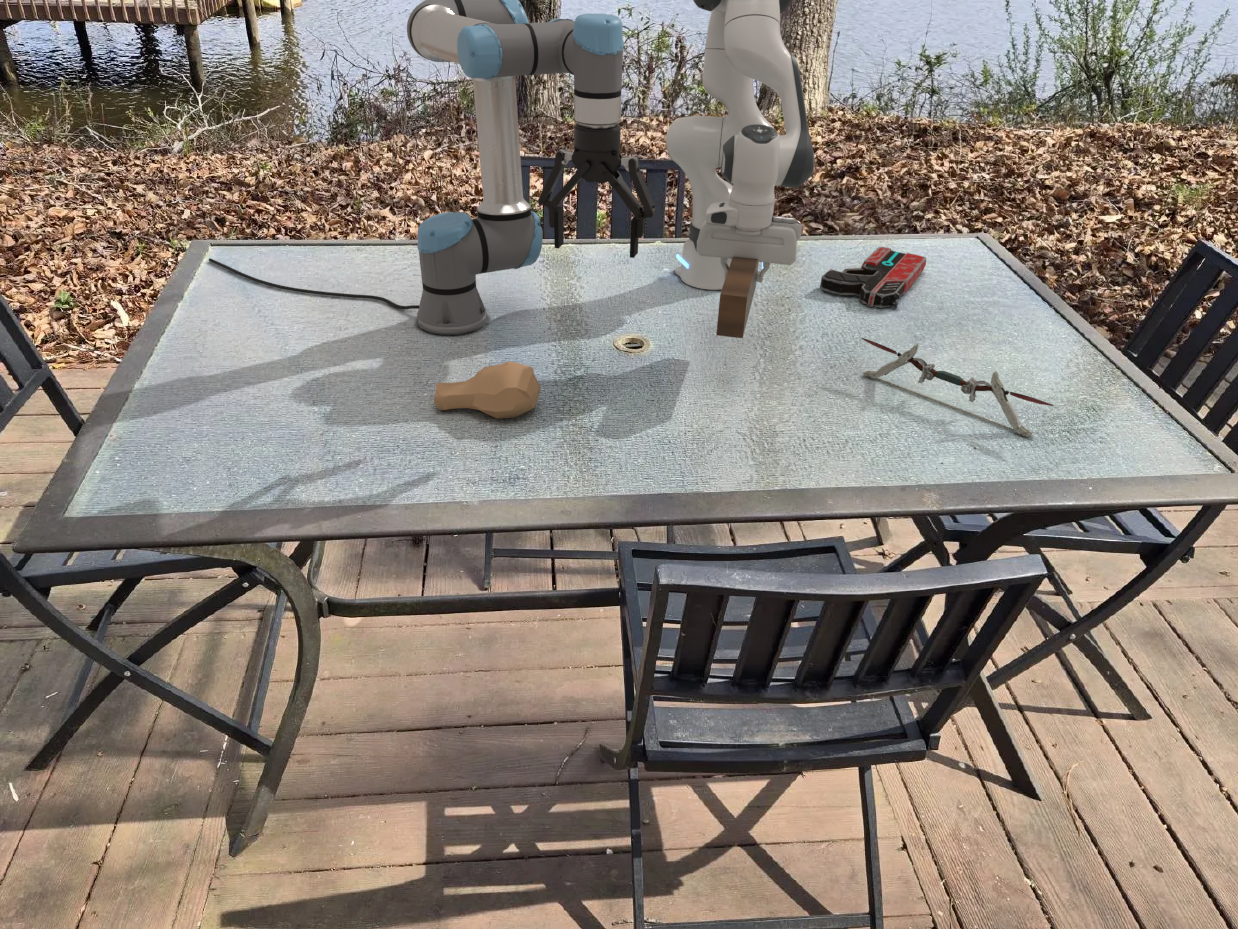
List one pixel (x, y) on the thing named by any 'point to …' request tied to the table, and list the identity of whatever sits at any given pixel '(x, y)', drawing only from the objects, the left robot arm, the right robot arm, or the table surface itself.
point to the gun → (877, 277)
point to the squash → (493, 391)
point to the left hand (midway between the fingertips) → (596, 250)
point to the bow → (966, 388)
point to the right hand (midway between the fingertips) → (743, 279)
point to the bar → (737, 297)
